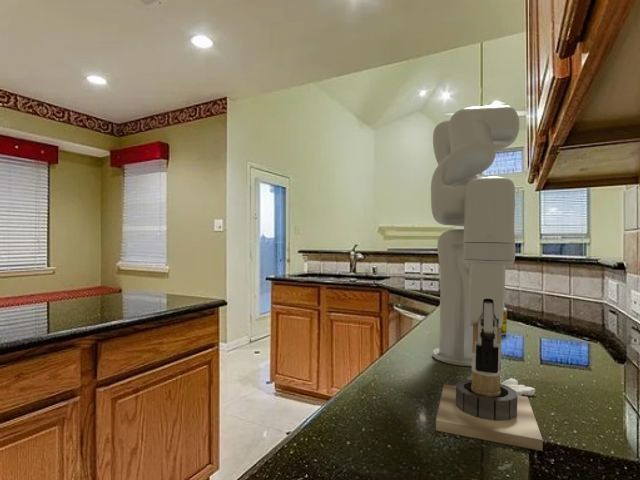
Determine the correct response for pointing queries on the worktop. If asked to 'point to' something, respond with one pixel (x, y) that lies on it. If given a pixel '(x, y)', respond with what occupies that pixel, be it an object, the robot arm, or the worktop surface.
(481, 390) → the sprinkles bottle
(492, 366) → the robot arm
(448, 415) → the socket board
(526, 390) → the acanthus leaf ornament
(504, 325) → the supplement bottle
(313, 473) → the worktop surface
